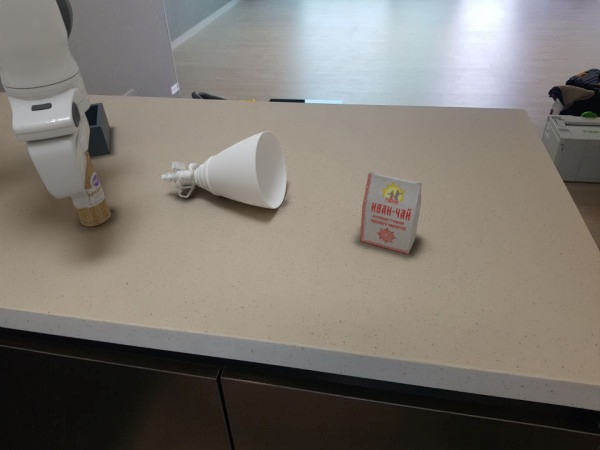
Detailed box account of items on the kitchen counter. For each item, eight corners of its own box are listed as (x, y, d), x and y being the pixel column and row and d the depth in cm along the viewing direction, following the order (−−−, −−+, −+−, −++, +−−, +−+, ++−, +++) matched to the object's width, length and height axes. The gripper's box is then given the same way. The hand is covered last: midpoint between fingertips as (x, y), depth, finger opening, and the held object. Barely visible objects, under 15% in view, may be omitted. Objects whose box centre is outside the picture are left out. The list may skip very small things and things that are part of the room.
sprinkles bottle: (110, 224, 68) (80, 143, 60) (78, 229, 67) (43, 148, 59) (113, 207, 72) (85, 129, 63) (83, 212, 71) (51, 133, 63)
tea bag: (369, 226, 66) (373, 165, 59) (415, 238, 63) (425, 176, 57) (360, 241, 63) (363, 179, 57) (408, 254, 60) (417, 191, 54)
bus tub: (43, 164, 83) (31, 137, 80) (50, 137, 92) (39, 111, 89) (109, 153, 86) (100, 125, 82) (110, 128, 95) (102, 102, 91)
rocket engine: (147, 136, 69) (254, 121, 63) (191, 152, 80) (286, 141, 74) (147, 212, 68) (255, 204, 62) (191, 218, 79) (287, 212, 73)
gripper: (34, 75, 65) (68, 160, 73) (9, 136, 49) (55, 234, 58) (81, 69, 66) (108, 153, 75) (71, 126, 51) (107, 224, 59)
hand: (85, 189), depth 66 cm, fingers open, 7 cm apart
